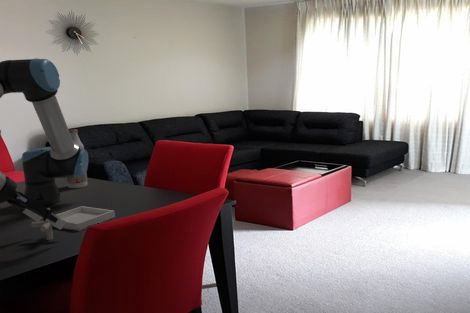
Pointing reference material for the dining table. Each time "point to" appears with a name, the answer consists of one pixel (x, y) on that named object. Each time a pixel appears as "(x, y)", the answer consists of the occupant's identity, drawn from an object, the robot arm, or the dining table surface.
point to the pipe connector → (45, 227)
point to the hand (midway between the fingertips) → (51, 222)
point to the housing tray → (84, 217)
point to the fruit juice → (82, 181)
